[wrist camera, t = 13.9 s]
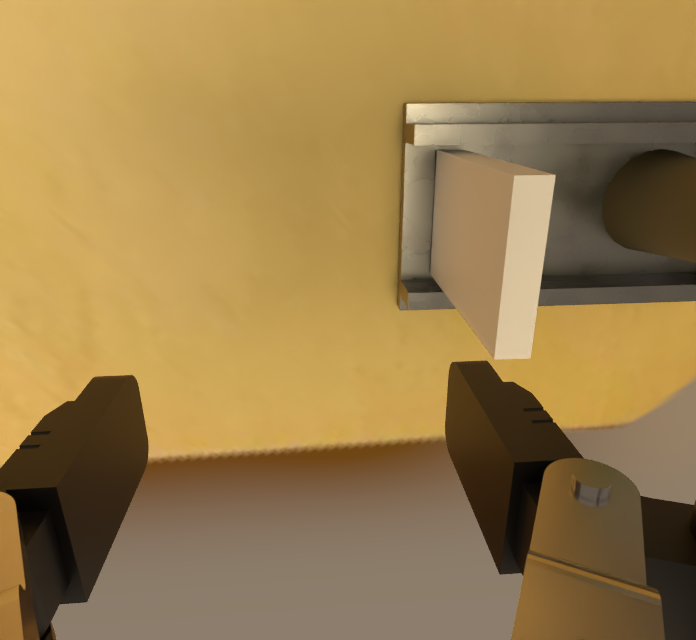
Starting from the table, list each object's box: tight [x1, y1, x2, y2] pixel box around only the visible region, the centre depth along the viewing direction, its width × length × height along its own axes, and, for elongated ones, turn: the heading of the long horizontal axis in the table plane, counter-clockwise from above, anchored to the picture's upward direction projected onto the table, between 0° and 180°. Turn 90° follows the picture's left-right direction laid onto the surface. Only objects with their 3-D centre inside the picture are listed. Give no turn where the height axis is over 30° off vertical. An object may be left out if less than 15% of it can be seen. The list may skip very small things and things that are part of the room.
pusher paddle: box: [430, 150, 556, 360], centre depth 25 cm, size 7×2×12 cm, turn 0°
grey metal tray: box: [397, 102, 696, 310], centre depth 31 cm, size 12×20×4 cm, turn 90°
